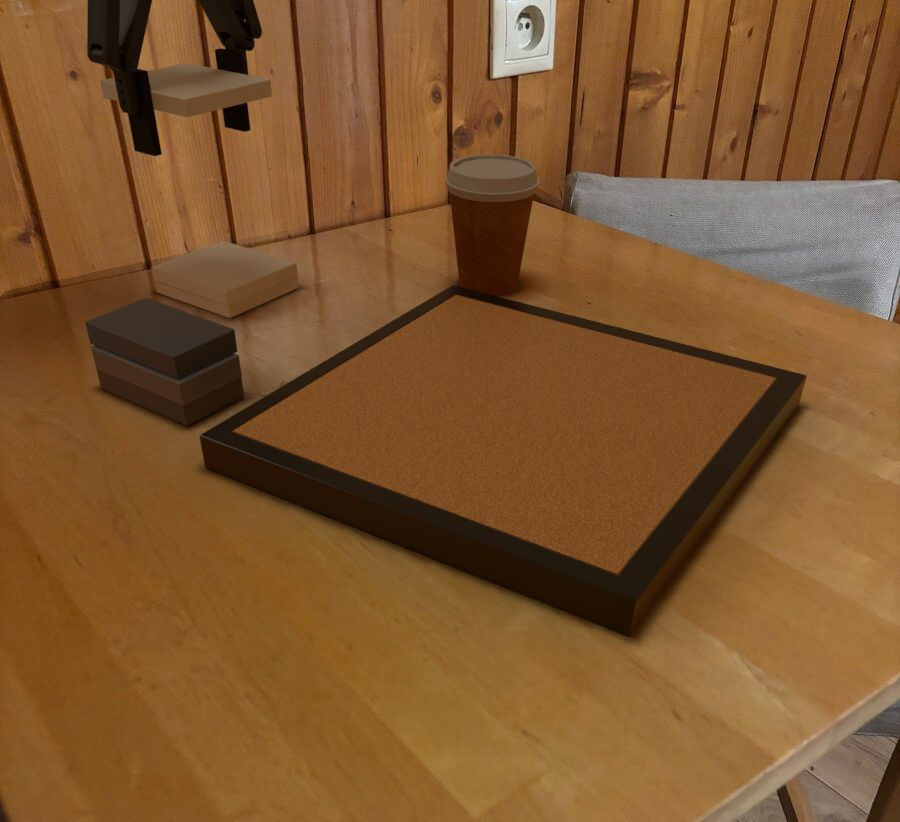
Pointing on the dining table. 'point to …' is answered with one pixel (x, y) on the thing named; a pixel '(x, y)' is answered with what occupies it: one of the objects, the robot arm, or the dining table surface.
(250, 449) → the cork board
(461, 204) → the disposable coffee cup
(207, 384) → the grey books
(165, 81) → the beige flat slab
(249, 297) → the beige square block
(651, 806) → the dining table surface
